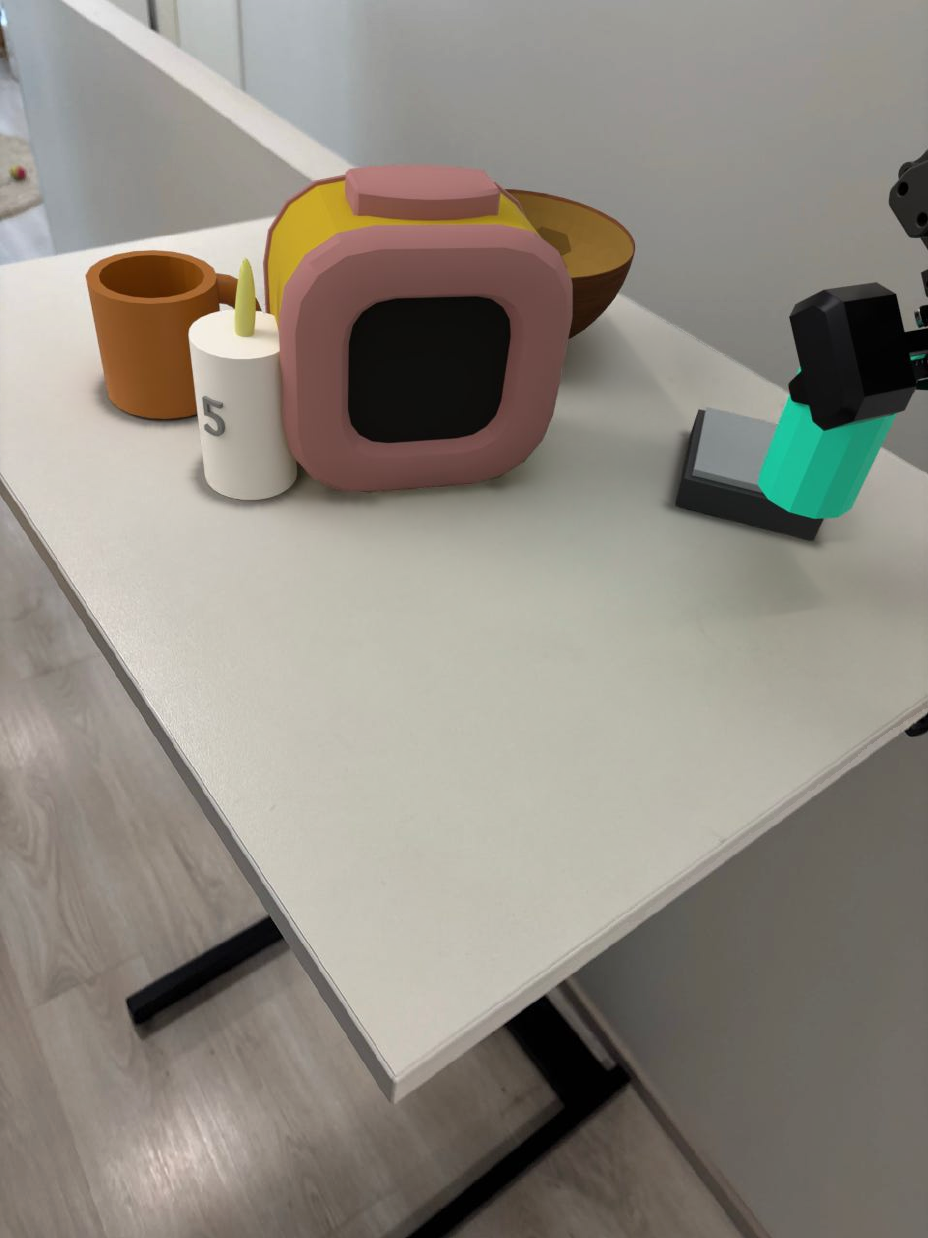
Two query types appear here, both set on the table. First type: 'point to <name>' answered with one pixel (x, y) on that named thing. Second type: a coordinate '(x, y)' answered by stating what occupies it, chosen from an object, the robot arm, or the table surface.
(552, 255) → the alarm clock
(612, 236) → the bowl
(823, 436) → the candle
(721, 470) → the scale
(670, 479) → the table surface
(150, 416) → the mug
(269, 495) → the candle
